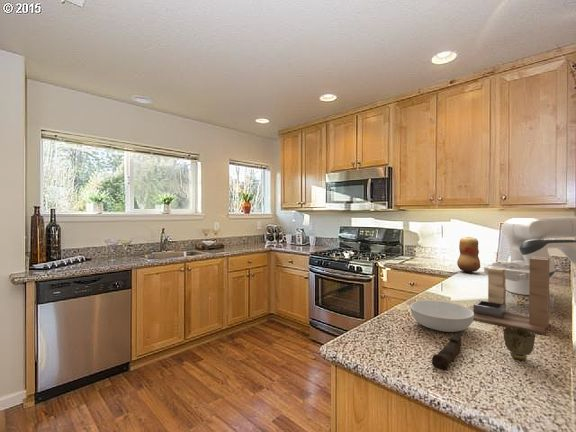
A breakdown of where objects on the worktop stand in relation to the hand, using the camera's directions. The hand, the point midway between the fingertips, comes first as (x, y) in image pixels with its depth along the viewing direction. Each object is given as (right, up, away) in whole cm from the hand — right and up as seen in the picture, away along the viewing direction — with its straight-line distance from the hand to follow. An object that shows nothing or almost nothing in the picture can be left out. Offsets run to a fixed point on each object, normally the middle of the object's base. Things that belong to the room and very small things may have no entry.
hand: (505, 275), depth 134 cm
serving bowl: (-41, -15, -23) cm, 49 cm away
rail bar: (-8, -14, -5) cm, 17 cm away
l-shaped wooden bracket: (-13, -14, -16) cm, 25 cm away
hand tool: (-50, -15, -46) cm, 70 cm away
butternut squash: (+30, -14, +78) cm, 85 cm away
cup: (-31, -15, -47) cm, 58 cm away
